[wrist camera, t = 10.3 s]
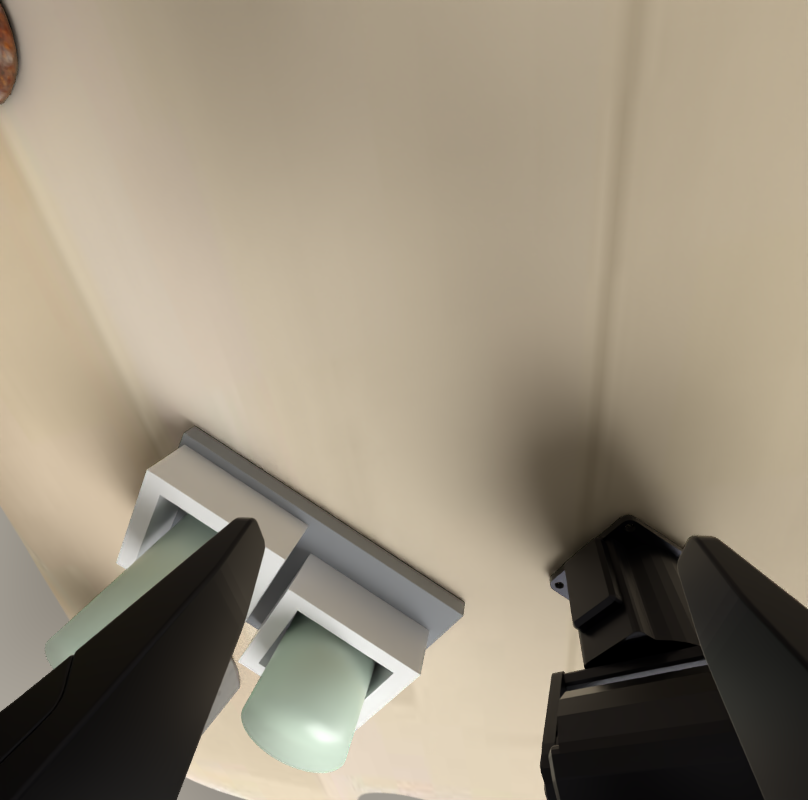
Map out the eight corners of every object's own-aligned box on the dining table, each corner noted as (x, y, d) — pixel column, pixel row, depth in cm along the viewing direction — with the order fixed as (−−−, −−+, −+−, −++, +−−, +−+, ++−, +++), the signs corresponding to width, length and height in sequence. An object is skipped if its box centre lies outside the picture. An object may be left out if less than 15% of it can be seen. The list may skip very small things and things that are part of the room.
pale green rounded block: (258, 514, 27) (130, 662, 18) (255, 567, 29) (141, 723, 20) (190, 490, 27) (35, 622, 19) (193, 544, 30) (55, 684, 21)
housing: (464, 602, 27) (447, 739, 20) (372, 688, 33) (333, 817, 26) (194, 425, 27) (78, 499, 19) (150, 543, 32) (47, 634, 25)
